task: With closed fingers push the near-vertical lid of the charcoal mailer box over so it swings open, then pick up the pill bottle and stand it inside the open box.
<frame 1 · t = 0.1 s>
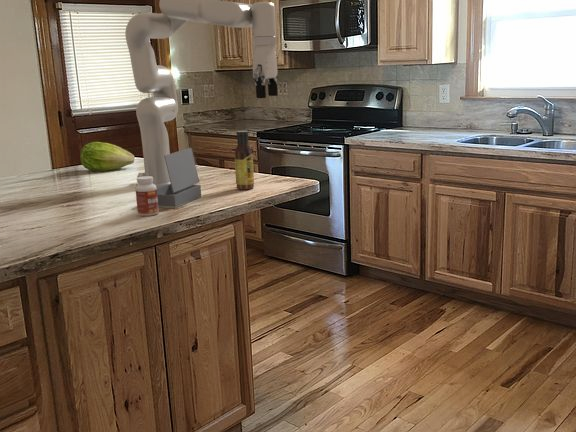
hand: (267, 96, 203), 31 cm above the countertop, fingers open, 9 cm apart
mailer box: (172, 201, 199), on the countertop
lid: (182, 169, 195), point 11 cm above the countertop, hinge at 80.0°
sauce bottle: (245, 189, 214), on the countertop
pill bottle: (148, 214, 184), on the countertop
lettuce: (109, 170, 262), on the countertop
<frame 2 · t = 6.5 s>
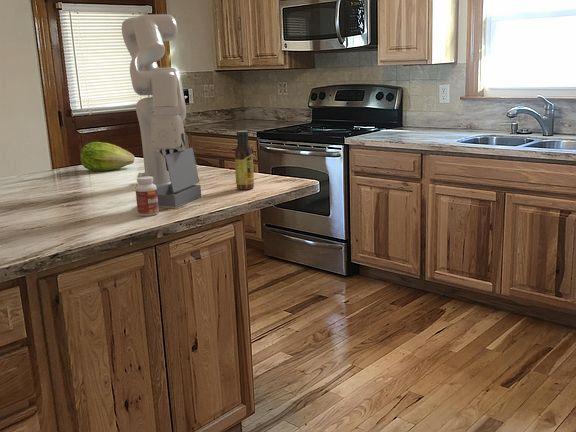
hand: (171, 170, 196), 10 cm above the countertop, fingers closed
lid: (182, 169, 195), point 11 cm above the countertop, hinge at 81.8°, touching gripper
everything else where it was.
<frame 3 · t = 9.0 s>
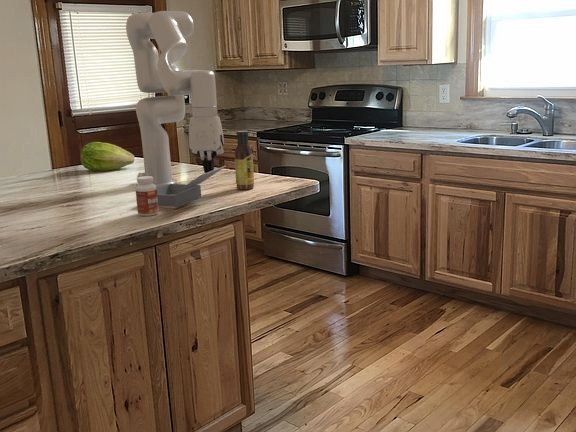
hand: (209, 172, 192), 10 cm above the countertop, fingers closed
lid: (200, 179, 193), point 8 cm above the countertop, hinge at 149.0°, touching gripper
everything else where it was.
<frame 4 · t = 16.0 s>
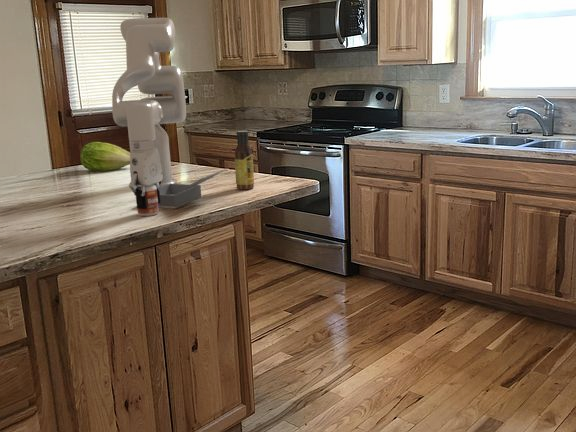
hand: (149, 205, 184), 3 cm above the countertop, fingers closed on pill bottle, 6 cm apart
lid: (201, 180, 193), point 7 cm above the countertop, hinge at 153.7°
pill bottle: (148, 214, 184), on the countertop, touching gripper
everything else where it was.
when the fingers open (4 cm above the countertop, at t = 22.0 s): pill bottle drops 1 cm, resting on mailer box.
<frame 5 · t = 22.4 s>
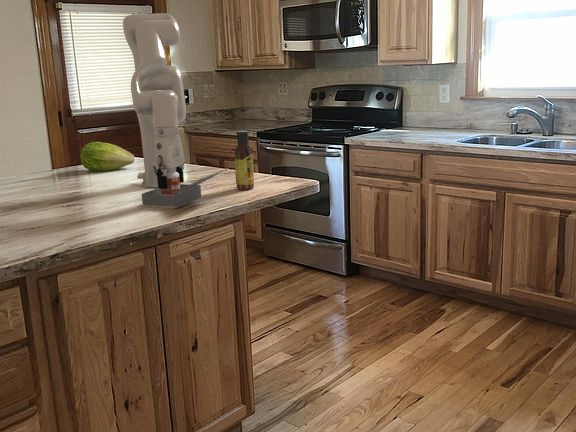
hand: (171, 185, 198), 5 cm above the countertop, fingers open, 9 cm apart
pill bottle: (171, 200, 200), resting on mailer box
everything else where it was.
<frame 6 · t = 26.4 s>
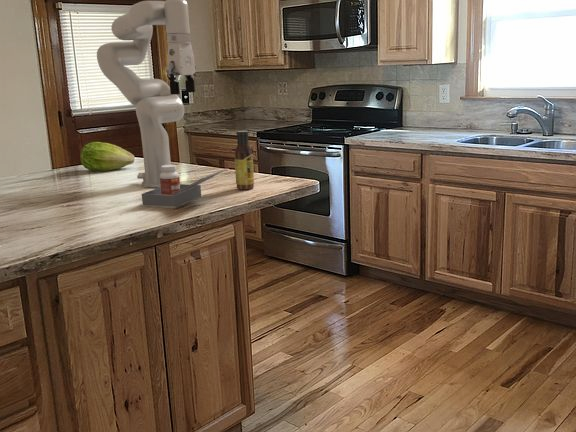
hand: (183, 93, 205), 33 cm above the countertop, fingers open, 9 cm apart
nothing on the countertop moved.
at the end: lid at +154° (first picture: +80°); pill bottle inside the target area on the mailer box (0.6 cm from its centre), point 0.3 cm above the mailer box's base; pill bottle tilted 0° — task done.
